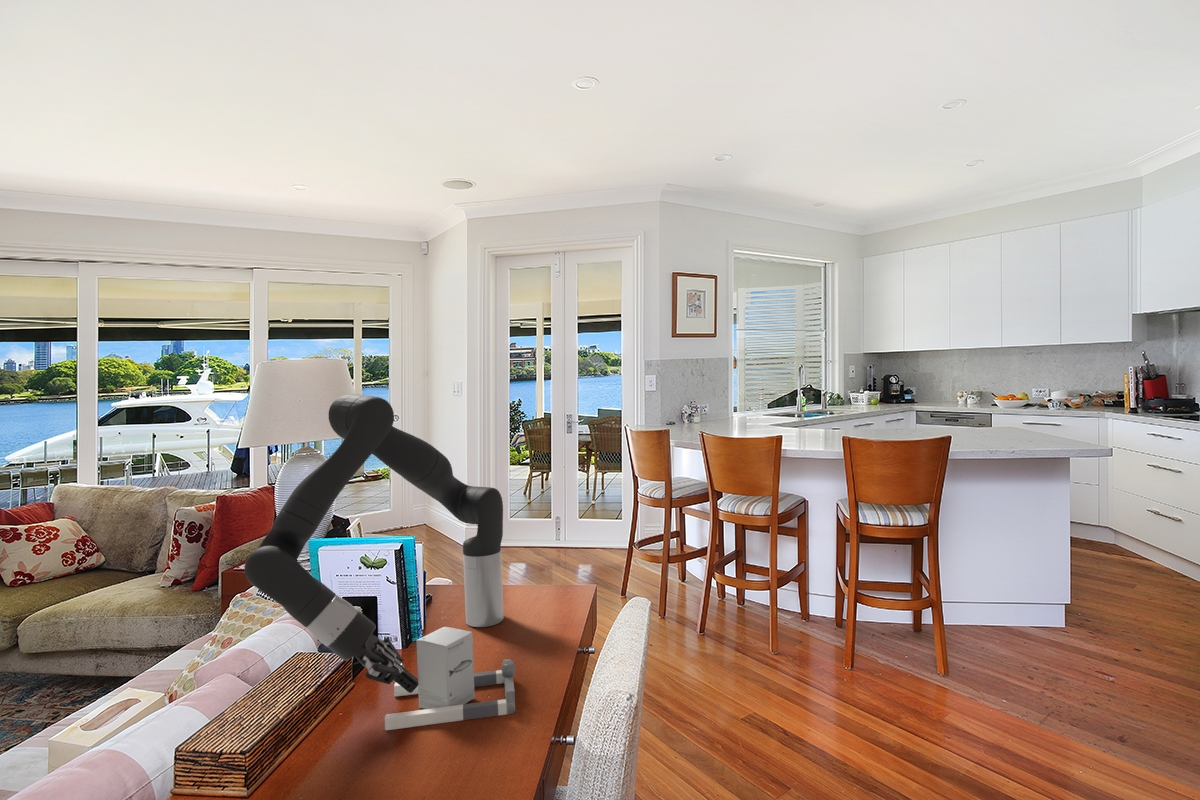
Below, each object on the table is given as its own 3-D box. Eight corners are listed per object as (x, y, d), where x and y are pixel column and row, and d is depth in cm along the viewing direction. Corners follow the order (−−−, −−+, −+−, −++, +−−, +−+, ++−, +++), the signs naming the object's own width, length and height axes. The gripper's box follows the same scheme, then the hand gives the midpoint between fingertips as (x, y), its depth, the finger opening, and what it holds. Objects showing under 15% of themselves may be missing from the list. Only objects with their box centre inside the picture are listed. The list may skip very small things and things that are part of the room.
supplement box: (448, 717, 110) (445, 646, 110) (417, 708, 114) (414, 639, 114) (476, 698, 117) (473, 631, 117) (446, 690, 121) (443, 624, 120)
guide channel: (395, 692, 120) (394, 661, 120) (514, 678, 124) (512, 648, 124) (385, 730, 107) (383, 695, 107) (518, 712, 111) (516, 679, 111)
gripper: (348, 624, 106) (426, 688, 108) (363, 598, 119) (432, 656, 121) (316, 659, 105) (395, 722, 108) (334, 629, 118) (405, 686, 121)
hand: (415, 687), depth 114 cm, fingers closed
